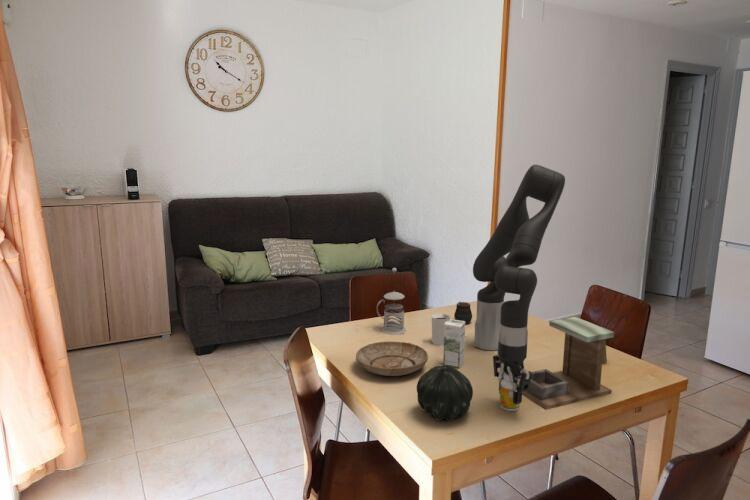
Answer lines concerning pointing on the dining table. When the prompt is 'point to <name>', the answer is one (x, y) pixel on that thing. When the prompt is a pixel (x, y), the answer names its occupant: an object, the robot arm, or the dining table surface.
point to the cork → (604, 353)
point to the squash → (444, 392)
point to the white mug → (438, 328)
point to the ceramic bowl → (391, 358)
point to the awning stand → (573, 366)
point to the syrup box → (454, 343)
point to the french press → (393, 314)
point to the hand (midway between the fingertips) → (509, 398)
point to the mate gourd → (463, 312)
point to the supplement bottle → (507, 394)
